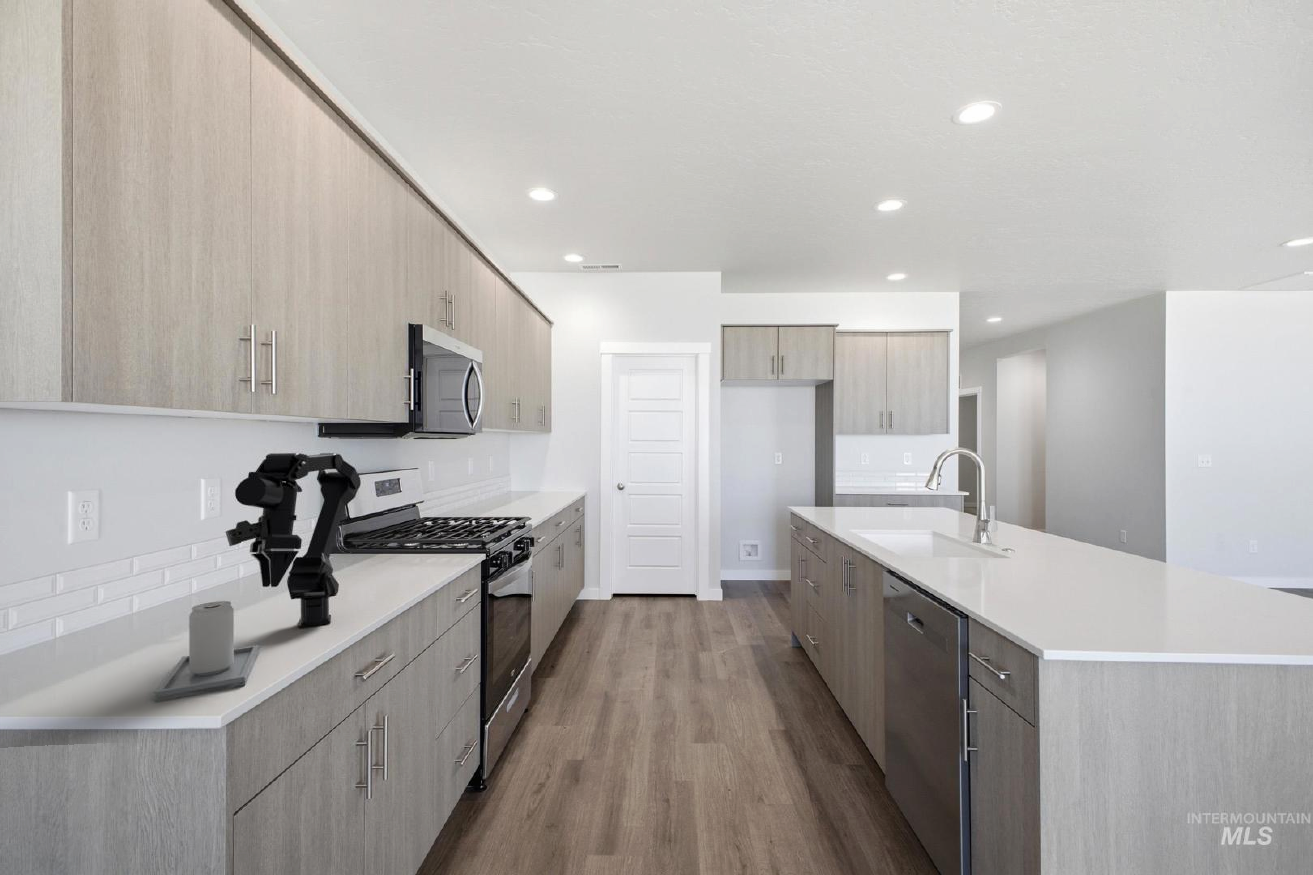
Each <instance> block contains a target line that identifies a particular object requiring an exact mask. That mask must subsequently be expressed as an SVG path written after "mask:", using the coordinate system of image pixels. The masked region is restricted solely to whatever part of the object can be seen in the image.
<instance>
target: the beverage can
mask: <svg viewBox="0 0 1313 875" xmlns="http://www.w3.org/2000/svg"><path fill="white" fill-rule="evenodd" d="M231 604H232V602H231V601H227V600H218V601H210V602H205V603H200V604H198V605H197V604H196V605H194V606H193V607H192V608H191V613H189V615H188V628H189V629H188V630H189V631H188V633H189V635H188V637H189V641H188V642H189V643H188V644H189V645H188V646H189V647H188V648H189V653H188V656H189V670H190V672H191V673H194V674H195V675H197V676H206V675H212V674H216V673H220V672H222V671H225V670H227V669H228V668H229V666H231V665H232V664H233V663H234V649H235V642H234V641H235V640H234V639H235V635H234V633H235V629H234V627H235V624H234V623H235V622H234V621H235V620H234V616H235V615H234V611H235V610H234V607H233V606H232V605H231Z"/></svg>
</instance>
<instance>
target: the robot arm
mask: <svg viewBox="0 0 1313 875" xmlns="http://www.w3.org/2000/svg"><path fill="white" fill-rule="evenodd" d="M326 470H336V471H329V472H326ZM311 472H318V473H317V476H316V480H317V482H318V484H319V485H320V489H319V490H320V493H321V495H322V498H323V503H322V505H321V508H320V512H319V514H318V518H317V521H316V523H315V527H314V530H313V531H312V532H313V533H312V535H311V539H310V541H309V545H308V548H307V551H306V553H304V554H303V556H297V555H298V554H299V550H301V549H302V542H303V538H301V537H300V536H299V535H298V534H293V532H294V521H297V517H298V515H297V514H296V505H297V498H298V497H297V496H298V493H302V492H303V488H302V487H301V486H300V485H299V484H298V482H297V480H300V479H303V478H305V477H307V476H308V475H309V473H311ZM361 482H362V480H361V477H360V475H359V473H358V472H357V469H356V468H355V467H354V466H352V465H351V464H350V463H348V462H347V461H346V460H344V459H343V456H342V455H341V454H339V453H337V452H332V453H331V452H330V453H329V452H328V453H327V452H324V453H323V452H322V453H320V454H319V453H318V454H312V455H311V454H310V455H308V454H305V453H301V452H291V453H290V452H280V453H278V452H276V453H273V452H272V453H268V454H266V456H265V459H263V460H262V461H261V463H260V465H259V466H258V467H257V469H256V470H255V471H249V472H248V476H247V477H246V478H244V479H242V481H240V482H239V484H237V487H236V488H235V492H234V494H235V495H234V496H235V499H236V500H237V502H238V503H239V504H241V505H243V506H249V507H252V508H258V509H259V508H260V509H262V515H260V516H259V517H258V520H257V522H255V523H254V522H253V523H250V522H249V521H248V520H242V521H239V522H236V524H235V525H236V526H235V528H231V529H228V530H226V531H225V536H226V538H227V539H226V540H227V543H228V546H229V547H233V546H236V545H238V544H242V543H243V542H246V541H250V540H254V541H252V542H251V543H250V545H249V546H250V547H249V553H250V556H251V557H253V558H254V559H255V560H256V561H258V564H259V571H260V577H261V585H262V587H264V588H268V587H271V588H277V587H279V585H280V583H281V581H282V580H283V579H284V577H285V575H286V573H287V571H288V570H289V567H290V566H291V565H292V566H291V567H290V568H291V569H290V571H289V572H288V574H289V575H288V576H287V579H286V584H287V589H288V592H289V597H290V600H300V619H299V621H298V622H297V623H298V624H297V628H298V629H301V628H307V627H315V626H321V625H322V626H323V625H329V624H331V623H332V615H331V614H330V603H329V602H330V598H331V597H336V596H337V595H338V592H339V589H340V588H339V586H340V584H339V581H337V580H336V578H335V577H334V575H333V572H334V568H333V567H332V563H331V561H330V556H331V553H332V549H333V546H334V544H335V539H336V537H337V533H338V530H339V526H340V524H341V520H342V518H343V514H344V511H345V507H346V506H347V505H348V504H349V503H350V502H352V500H354V499H355V498H356V496H357V494H358V491H359V489H360V488H361Z"/></svg>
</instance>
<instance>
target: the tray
mask: <svg viewBox="0 0 1313 875" xmlns="http://www.w3.org/2000/svg"><path fill="white" fill-rule="evenodd" d="M259 655H260V645H259V644H256V645H250V646H244V647H238V648H234V663H233V664H232V665H231V666H229V668H228V669H227V670H225V671H222V672H220V673H216V674H212V675H206V676H197V675H195V674H194V673H191V672H190V670H189V655H185V656H182V657H181V659H179V661H178V662H177V663H176V664H175V666H174V667H173V668H172V670H171V671H170V672H169V673H168V675H167V676H166V678H165V679H164V680H163V681H162V683H161V684H160V685H159V687H157V689H156V690H155V691H154V703H158V702H163V701H169V700H174V699H178V698H179V699H180V698H184V697H185V698H187V697H191V696H197V695H201V694H208V693H213V692H219V691H224V690H230V689H234V688H239V687H240V688H241V687H246V684H247V682H248V679H249V677H250V675H251V673H252V670H253V668H254V666H255V663H256V661H257V659H258V656H259Z"/></svg>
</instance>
